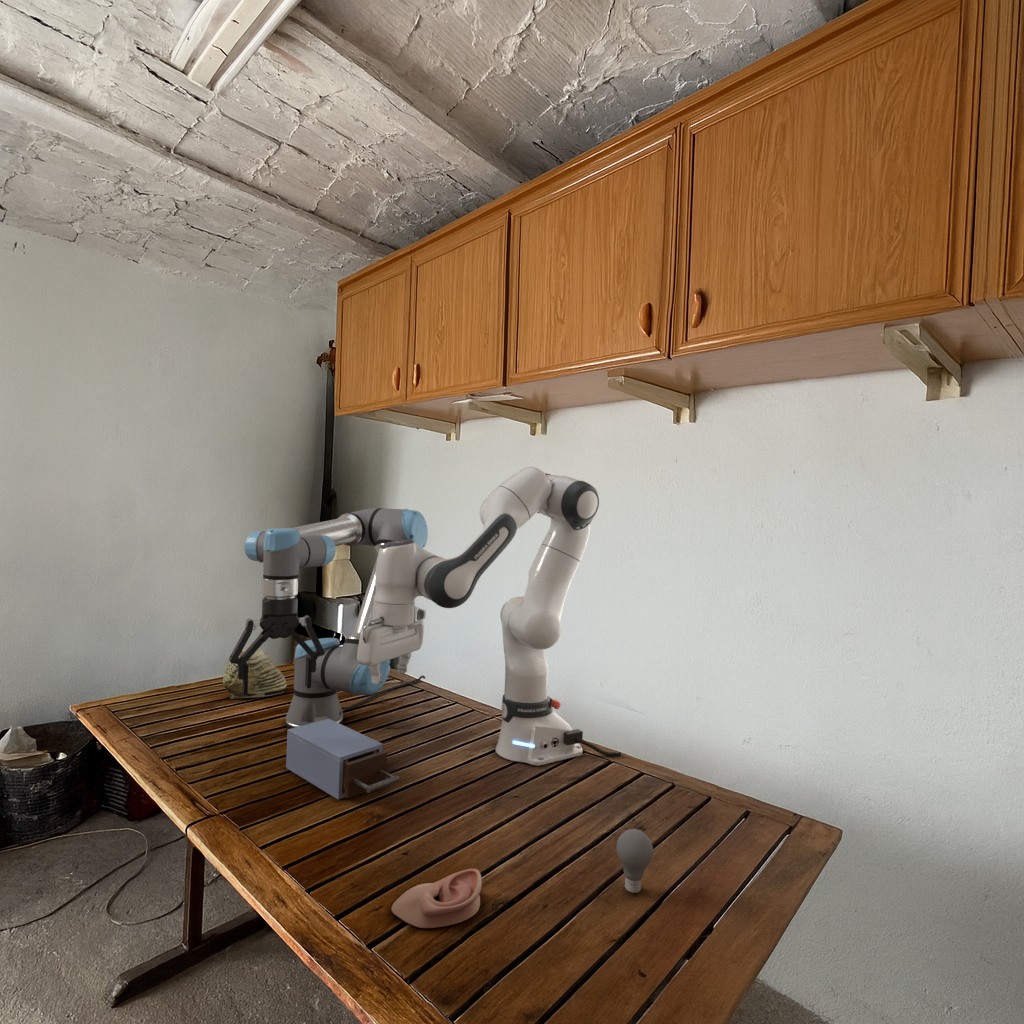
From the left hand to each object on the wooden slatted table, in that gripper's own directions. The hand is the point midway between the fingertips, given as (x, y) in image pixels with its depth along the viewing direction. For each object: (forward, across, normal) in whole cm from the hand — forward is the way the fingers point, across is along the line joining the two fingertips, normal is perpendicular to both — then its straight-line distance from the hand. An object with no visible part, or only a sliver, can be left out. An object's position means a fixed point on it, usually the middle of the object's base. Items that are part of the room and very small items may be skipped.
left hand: (277, 690), depth 144 cm
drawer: (+18, +13, -12) cm, 26 cm away
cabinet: (+19, +11, -7) cm, 23 cm away
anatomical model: (+19, +14, -60) cm, 64 cm away
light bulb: (+19, +45, -70) cm, 86 cm away
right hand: (-6, +20, -18) cm, 28 cm away
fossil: (+19, +4, +60) cm, 63 cm away
